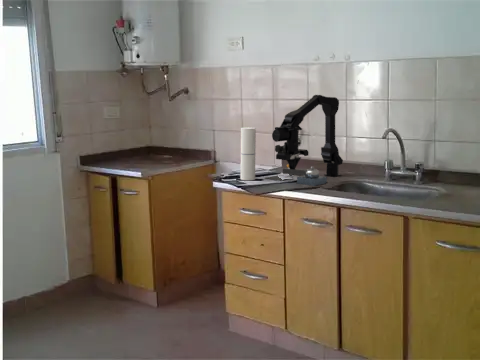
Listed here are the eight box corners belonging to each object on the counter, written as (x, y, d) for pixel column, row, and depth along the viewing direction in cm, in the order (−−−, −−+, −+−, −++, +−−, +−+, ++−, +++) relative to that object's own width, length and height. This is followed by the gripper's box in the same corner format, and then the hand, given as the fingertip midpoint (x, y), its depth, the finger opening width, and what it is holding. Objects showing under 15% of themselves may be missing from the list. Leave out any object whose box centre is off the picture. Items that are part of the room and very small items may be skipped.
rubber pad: (277, 176, 291) (277, 175, 291) (293, 178, 284) (293, 177, 284) (264, 178, 283) (264, 177, 283) (280, 181, 277) (280, 180, 277)
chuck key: (292, 174, 296) (292, 163, 294) (297, 175, 294) (297, 163, 292) (285, 175, 291) (285, 164, 290) (289, 176, 289) (290, 164, 288)
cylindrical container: (238, 179, 280) (238, 128, 275) (243, 177, 286) (244, 127, 282) (252, 180, 277) (252, 128, 273) (257, 178, 284) (257, 127, 279)
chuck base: (309, 180, 279) (309, 174, 278) (326, 183, 272) (326, 176, 272) (296, 183, 271) (297, 176, 271) (314, 185, 265) (314, 179, 264)
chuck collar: (320, 175, 273) (320, 166, 272) (316, 177, 267) (316, 168, 266) (285, 172, 280) (285, 163, 279) (280, 174, 275) (281, 165, 274)
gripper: (291, 136, 287) (290, 167, 290) (267, 140, 273) (267, 173, 276) (309, 138, 279) (308, 170, 282) (285, 142, 266) (285, 175, 269)
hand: (292, 172), depth 278 cm, fingers closed
